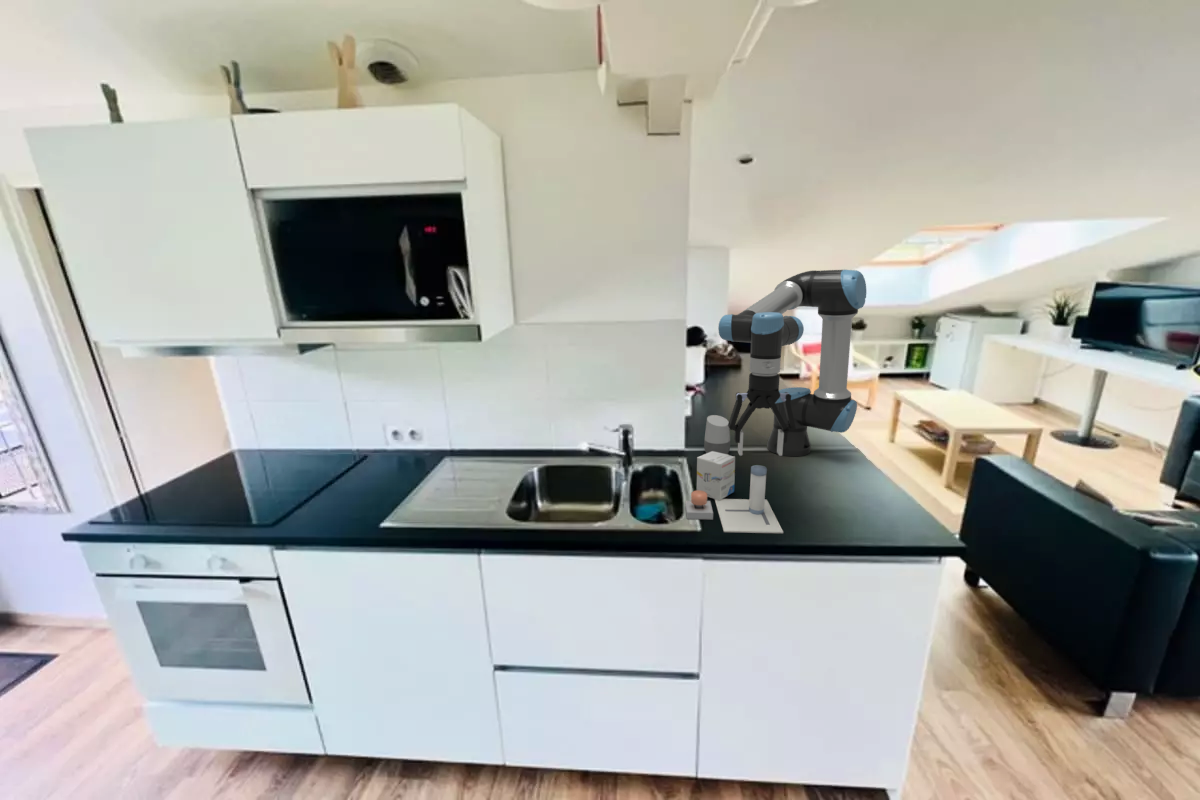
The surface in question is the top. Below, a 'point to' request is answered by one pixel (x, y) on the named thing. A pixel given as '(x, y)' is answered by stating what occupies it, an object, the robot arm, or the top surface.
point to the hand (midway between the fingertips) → (759, 453)
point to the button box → (698, 511)
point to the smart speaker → (717, 435)
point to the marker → (757, 489)
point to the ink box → (716, 474)
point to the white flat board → (746, 517)
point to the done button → (699, 498)
